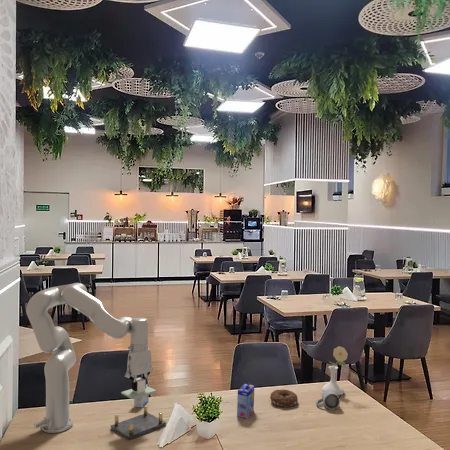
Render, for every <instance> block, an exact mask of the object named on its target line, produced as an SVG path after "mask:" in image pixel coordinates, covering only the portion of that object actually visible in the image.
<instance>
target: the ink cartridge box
mask: <svg viewBox="0 0 450 450" xmlns="http://www.w3.org/2000/svg"><path fill="white" fill-rule="evenodd" d="M236 400H237V403H236V404H237V405H236V410H237V411H236V415H237V417H240V418H243V419H248V418H249V417H250V415H251V414H253V412H254V410H255V408H254V406H255V385H253V384H251V382H249V383H248V384H247V383H244V384H243V385H242V386H241V387H240V388H238V390H237V399H236Z"/></svg>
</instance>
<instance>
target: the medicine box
mask: <svg viewBox="0 0 450 450" xmlns="http://www.w3.org/2000/svg"><path fill="white" fill-rule="evenodd" d="M146 386H148V387H149V384H148V383H147V385H146ZM147 403H149V395H146V396H143V397H140V398H137V399H134V401H133V404H134V405H133V406H134V408H142V409H144V405H147Z"/></svg>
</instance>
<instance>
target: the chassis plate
mask: <svg viewBox="0 0 450 450" xmlns="http://www.w3.org/2000/svg"><path fill="white" fill-rule="evenodd" d="M119 417H120V416H119V415H118V414H115V415H114V424H112V425H110V430H111V431H114V432H115V433H117V434H118V435H120V436H121V437H123V439H126V440H128V441H132V440H133V439H136V438H138V437H141V436H143V435H146V434H149V433H151V432H153V431H156V430H159V429H161V428H164V427H166V426H167V422H166V421H165V420H163V413H162V412H159V413H158V417H157V416H155V415H153V414H152V413H150V412H148V405H147V404H145V405H144V407H143V413H142V414H139V415H137V416H134V417H131V418H129V419H125V420H123V421H120V422H119Z"/></svg>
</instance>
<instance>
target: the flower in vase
mask: <svg viewBox="0 0 450 450" xmlns="http://www.w3.org/2000/svg"><path fill="white" fill-rule="evenodd" d="M348 355H349V354H348V352H347V350H346V348H345V347H342V346H337V347H336V348H333V358H334V359H335V360H336V362H335V363H334V362H331V361H330V360H328V362H329V364H332V365H329V366H328V369H329V371H330V381H329V382H327V383H325V384H324V385H323V387H322V388H321V390H322V393H323V392H324V391H325V390H332V391H334V392H335V393H336V394H337V396H340V395H343V394H345V389H344V388H343V387H342V386H341V385H340V383H338V382H337V380H336V373H337V370H338V369H339V367H338V366H336V365H337V364H338V365H339V366H344V365H346V362H345V361H346V360H347V359H348Z"/></svg>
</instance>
